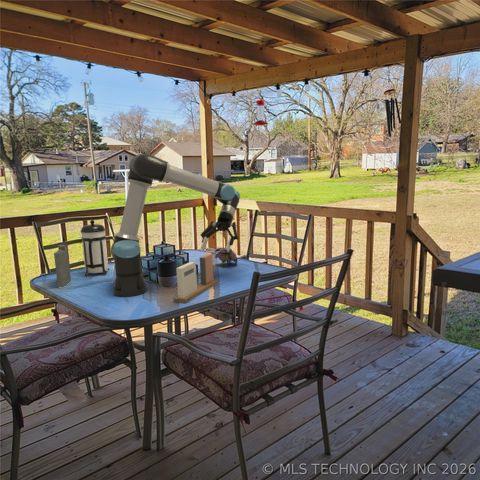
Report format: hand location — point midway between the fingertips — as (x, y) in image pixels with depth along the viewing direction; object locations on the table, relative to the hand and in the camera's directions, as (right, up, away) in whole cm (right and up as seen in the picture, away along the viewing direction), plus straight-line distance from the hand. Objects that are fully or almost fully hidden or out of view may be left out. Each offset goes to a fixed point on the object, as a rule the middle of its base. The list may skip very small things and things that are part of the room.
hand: (214, 249), depth 193 cm
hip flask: (-76, -18, +7) cm, 79 cm away
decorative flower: (+5, -10, +34) cm, 36 cm away
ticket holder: (-7, -19, -15) cm, 25 cm away
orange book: (-3, -15, -6) cm, 17 cm away
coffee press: (-66, -14, +24) cm, 72 cm away
